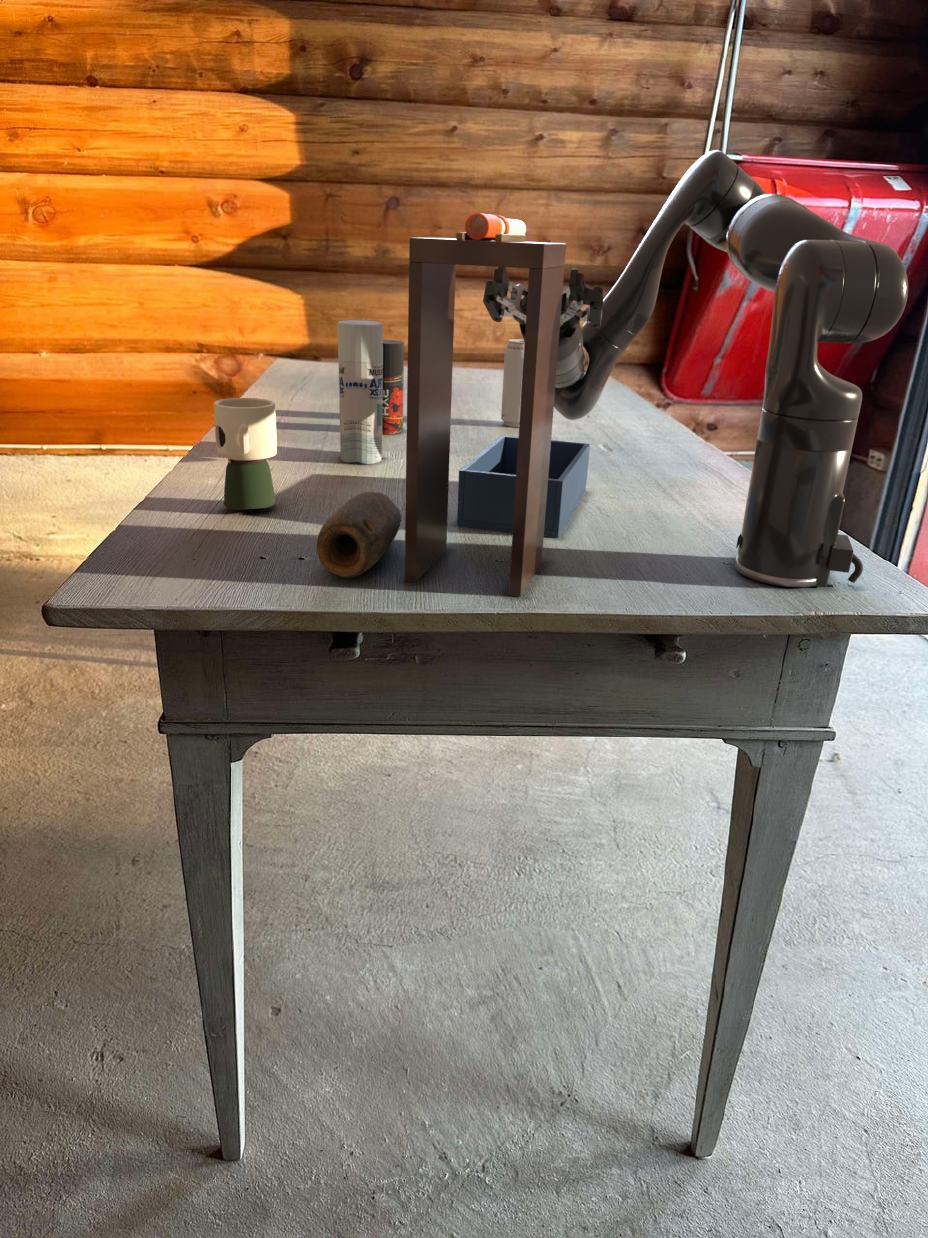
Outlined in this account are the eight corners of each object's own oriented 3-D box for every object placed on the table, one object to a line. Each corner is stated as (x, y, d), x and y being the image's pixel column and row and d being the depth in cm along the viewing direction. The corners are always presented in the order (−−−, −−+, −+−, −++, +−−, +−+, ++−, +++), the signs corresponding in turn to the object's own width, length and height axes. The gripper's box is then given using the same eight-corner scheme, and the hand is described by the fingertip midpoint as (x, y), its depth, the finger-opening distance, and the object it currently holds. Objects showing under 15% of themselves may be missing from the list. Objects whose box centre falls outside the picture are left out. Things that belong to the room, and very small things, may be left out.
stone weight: (383, 587, 90) (384, 522, 87) (314, 583, 90) (312, 518, 88) (403, 540, 104) (404, 482, 101) (342, 536, 104) (342, 479, 102)
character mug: (223, 496, 117) (216, 394, 112) (280, 496, 118) (275, 394, 113) (217, 521, 107) (209, 410, 102) (278, 521, 109) (274, 411, 104)
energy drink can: (515, 420, 173) (520, 338, 167) (539, 425, 169) (545, 341, 163) (494, 423, 169) (498, 339, 163) (518, 429, 165) (524, 343, 159)
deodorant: (372, 434, 156) (372, 343, 150) (366, 427, 161) (365, 339, 155) (406, 433, 158) (407, 343, 152) (398, 426, 163) (399, 339, 157)
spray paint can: (345, 453, 142) (344, 319, 134) (386, 456, 142) (387, 321, 134) (334, 462, 136) (332, 323, 129) (377, 465, 136) (377, 325, 128)
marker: (492, 234, 79) (483, 208, 79) (470, 244, 80) (461, 219, 79) (532, 235, 95) (525, 213, 94) (513, 244, 96) (506, 222, 95)
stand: (541, 561, 99) (566, 236, 86) (520, 597, 89) (545, 235, 76) (436, 548, 102) (445, 231, 89) (404, 581, 92) (409, 229, 79)
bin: (585, 492, 126) (590, 443, 124) (558, 537, 107) (562, 481, 104) (498, 483, 129) (501, 435, 127) (456, 525, 110) (458, 470, 107)
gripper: (505, 306, 122) (481, 240, 106) (611, 312, 118) (603, 246, 103) (495, 359, 121) (470, 301, 105) (602, 367, 118) (593, 308, 102)
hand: (536, 274), depth 104 cm, fingers open, 8 cm apart
